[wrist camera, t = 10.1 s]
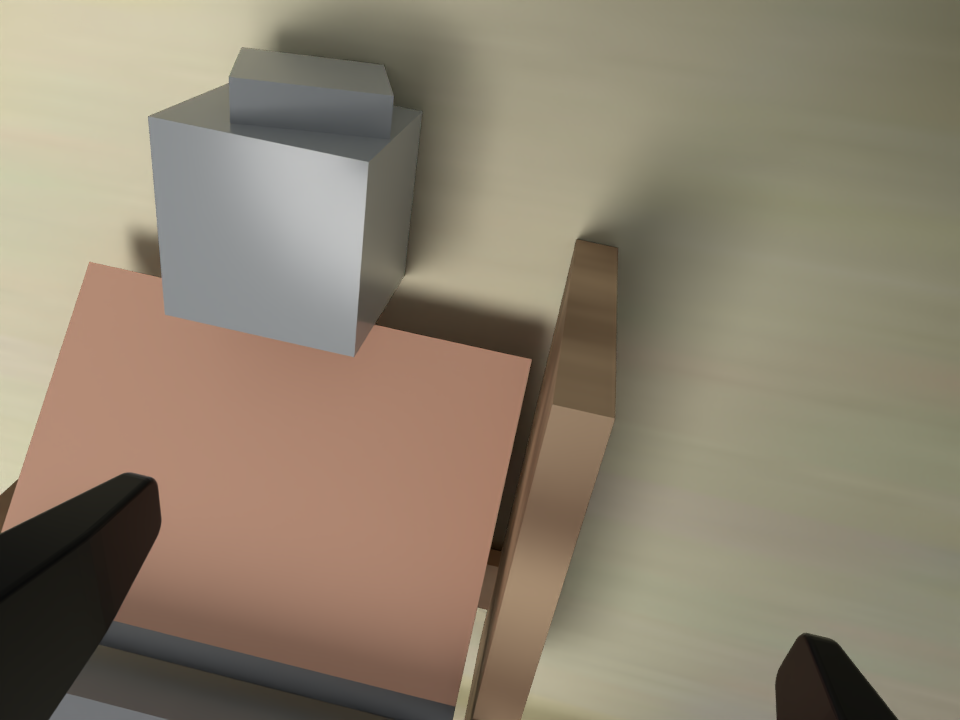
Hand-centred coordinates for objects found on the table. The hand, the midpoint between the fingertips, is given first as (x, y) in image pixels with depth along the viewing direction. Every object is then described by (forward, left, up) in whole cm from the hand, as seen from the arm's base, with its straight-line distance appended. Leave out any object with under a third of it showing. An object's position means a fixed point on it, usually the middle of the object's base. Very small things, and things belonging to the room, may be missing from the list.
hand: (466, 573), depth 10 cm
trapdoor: (-11, +7, -9) cm, 15 cm away
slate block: (-2, +6, -11) cm, 13 cm away
